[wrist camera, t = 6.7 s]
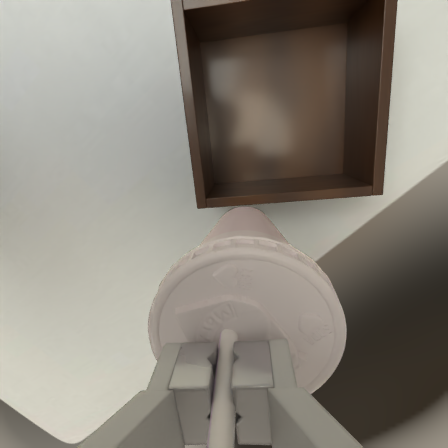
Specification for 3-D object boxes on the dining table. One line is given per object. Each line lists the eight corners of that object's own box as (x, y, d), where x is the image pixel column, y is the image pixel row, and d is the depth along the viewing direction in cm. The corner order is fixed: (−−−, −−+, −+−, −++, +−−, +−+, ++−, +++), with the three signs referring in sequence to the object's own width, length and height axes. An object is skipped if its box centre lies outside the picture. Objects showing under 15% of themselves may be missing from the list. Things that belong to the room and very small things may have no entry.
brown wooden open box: (208, 191, 30) (197, 208, 23) (190, 35, 26) (170, -3, 19) (349, 180, 29) (383, 194, 22) (355, 12, 24) (401, -38, 17)
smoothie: (220, 167, 17) (127, 301, 3) (314, 212, 17) (550, 481, 4) (180, 254, 19) (25, 552, 5) (265, 292, 19) (314, 652, 6)
